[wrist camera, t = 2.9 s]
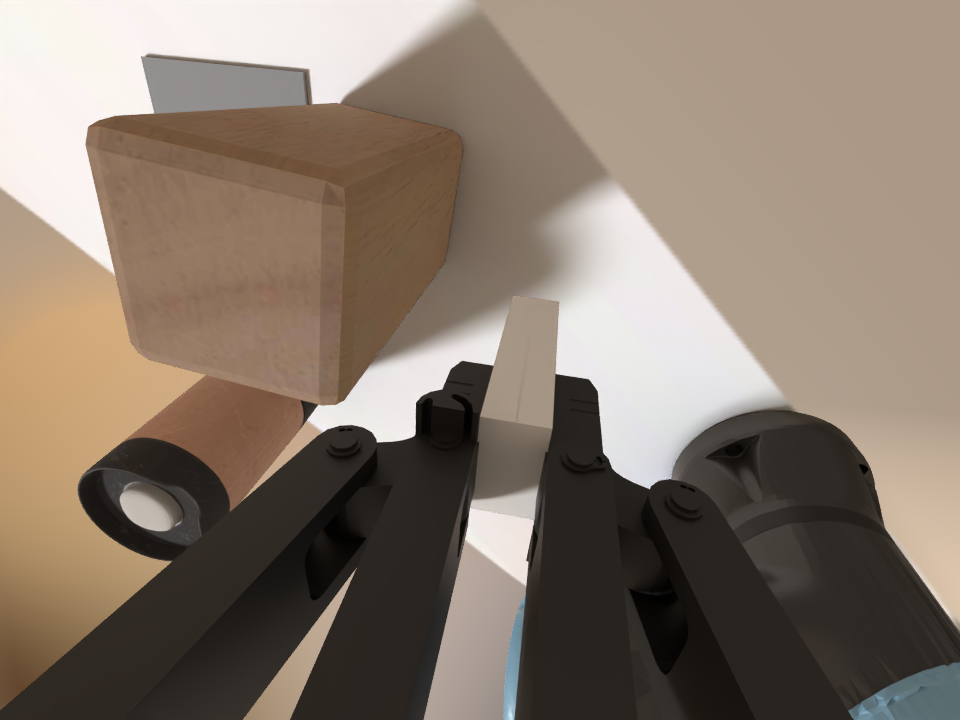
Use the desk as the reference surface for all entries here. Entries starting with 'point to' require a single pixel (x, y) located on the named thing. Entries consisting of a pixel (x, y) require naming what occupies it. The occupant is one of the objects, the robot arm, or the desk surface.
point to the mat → (219, 86)
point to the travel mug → (189, 465)
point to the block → (273, 237)
